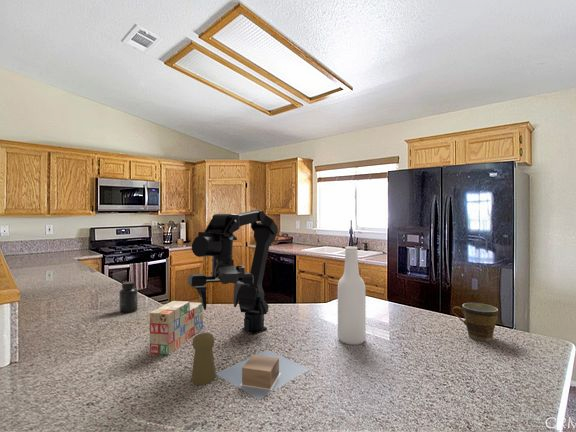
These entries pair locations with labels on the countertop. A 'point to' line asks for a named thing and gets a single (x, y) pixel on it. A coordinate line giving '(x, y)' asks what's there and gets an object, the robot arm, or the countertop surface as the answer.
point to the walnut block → (260, 371)
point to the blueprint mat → (234, 376)
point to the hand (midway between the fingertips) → (220, 308)
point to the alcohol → (351, 301)
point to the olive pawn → (203, 359)
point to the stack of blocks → (174, 325)
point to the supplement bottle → (128, 298)
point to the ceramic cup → (479, 320)
